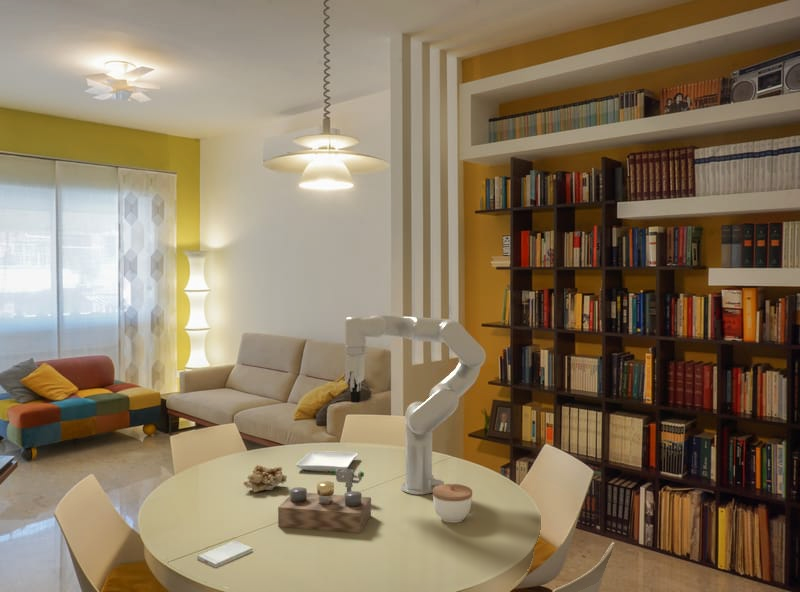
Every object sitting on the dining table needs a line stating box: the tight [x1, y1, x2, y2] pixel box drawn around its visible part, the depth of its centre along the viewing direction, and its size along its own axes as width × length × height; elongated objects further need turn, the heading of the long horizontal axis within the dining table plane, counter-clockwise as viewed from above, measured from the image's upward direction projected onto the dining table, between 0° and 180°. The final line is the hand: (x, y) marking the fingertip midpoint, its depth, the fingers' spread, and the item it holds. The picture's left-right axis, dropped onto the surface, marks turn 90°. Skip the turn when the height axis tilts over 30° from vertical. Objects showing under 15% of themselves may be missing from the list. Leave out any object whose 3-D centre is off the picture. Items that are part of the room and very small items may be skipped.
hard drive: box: [196, 540, 253, 568], centre depth 175 cm, size 2×8×12 cm
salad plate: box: [296, 450, 359, 473], centre depth 257 cm, size 21×21×3 cm
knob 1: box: [289, 486, 308, 503], centre depth 200 cm, size 5×5×8 cm
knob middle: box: [316, 480, 335, 505], centre depth 199 cm, size 5×5×8 cm
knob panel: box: [277, 492, 372, 534], centre depth 199 cm, size 26×14×6 cm, turn 79°
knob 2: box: [344, 490, 363, 507], centre depth 197 cm, size 5×5×8 cm
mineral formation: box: [243, 464, 288, 493], centre depth 229 cm, size 8×13×15 cm
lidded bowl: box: [432, 483, 473, 524], centre depth 201 cm, size 13×13×11 cm
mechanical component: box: [333, 468, 365, 493], centre depth 218 cm, size 3×10×10 cm, turn 78°
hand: (355, 402), depth 226 cm, fingers closed
